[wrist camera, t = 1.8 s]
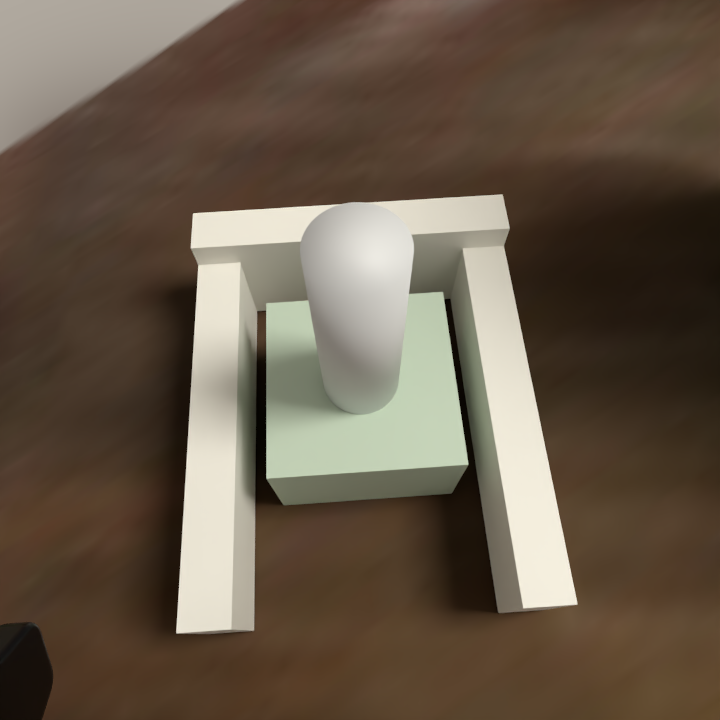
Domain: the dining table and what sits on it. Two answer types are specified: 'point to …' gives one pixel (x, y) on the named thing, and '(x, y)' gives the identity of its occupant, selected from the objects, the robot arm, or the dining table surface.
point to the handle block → (360, 371)
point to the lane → (480, 379)
